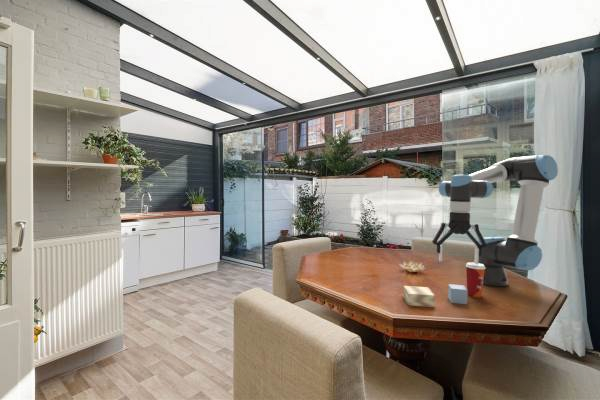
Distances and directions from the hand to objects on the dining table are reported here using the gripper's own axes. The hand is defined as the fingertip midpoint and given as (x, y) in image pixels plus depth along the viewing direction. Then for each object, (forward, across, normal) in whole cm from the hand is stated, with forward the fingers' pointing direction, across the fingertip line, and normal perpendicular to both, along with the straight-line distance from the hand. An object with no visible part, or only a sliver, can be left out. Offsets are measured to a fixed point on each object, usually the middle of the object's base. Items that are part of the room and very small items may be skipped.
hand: (458, 262), depth 125 cm
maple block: (+17, +16, +6) cm, 24 cm away
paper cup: (+17, -9, -10) cm, 21 cm away
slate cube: (+16, 0, 0) cm, 17 cm away
